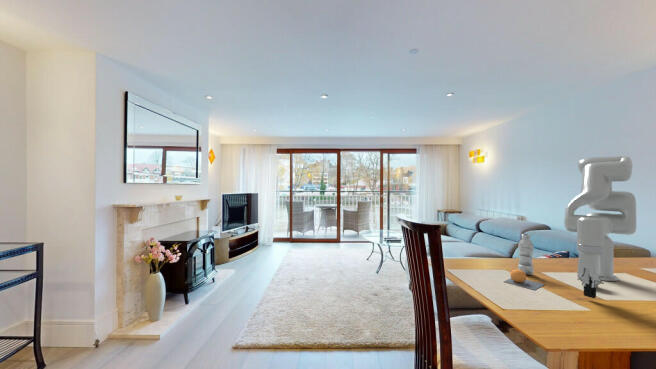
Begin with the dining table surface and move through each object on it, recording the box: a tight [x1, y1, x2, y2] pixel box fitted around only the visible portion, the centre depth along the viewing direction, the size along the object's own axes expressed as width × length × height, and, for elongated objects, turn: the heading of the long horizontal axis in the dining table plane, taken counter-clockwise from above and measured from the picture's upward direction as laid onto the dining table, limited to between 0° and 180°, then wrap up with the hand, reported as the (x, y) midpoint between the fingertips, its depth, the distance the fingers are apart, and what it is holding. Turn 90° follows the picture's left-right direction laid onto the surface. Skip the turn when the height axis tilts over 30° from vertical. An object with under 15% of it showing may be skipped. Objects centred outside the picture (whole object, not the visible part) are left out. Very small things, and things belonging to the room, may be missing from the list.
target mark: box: [503, 277, 546, 291], centre depth 123 cm, size 12×12×1 cm
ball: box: [509, 268, 527, 283], centre depth 124 cm, size 6×6×6 cm
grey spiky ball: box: [577, 276, 605, 288], centre depth 120 cm, size 9×8×10 cm
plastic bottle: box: [517, 233, 535, 276], centre depth 136 cm, size 6×7×20 cm
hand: (589, 296), depth 105 cm, fingers closed
